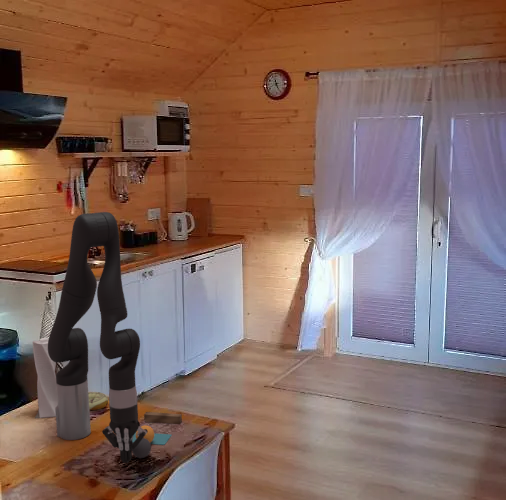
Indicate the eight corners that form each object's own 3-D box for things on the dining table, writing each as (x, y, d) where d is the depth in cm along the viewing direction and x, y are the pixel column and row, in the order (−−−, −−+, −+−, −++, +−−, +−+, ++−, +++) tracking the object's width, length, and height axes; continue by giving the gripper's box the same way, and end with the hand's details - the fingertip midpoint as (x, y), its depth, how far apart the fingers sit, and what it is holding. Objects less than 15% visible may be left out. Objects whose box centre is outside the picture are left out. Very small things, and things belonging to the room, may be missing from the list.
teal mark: (126, 442, 191) (126, 441, 191) (134, 432, 198) (134, 431, 198) (164, 445, 189) (164, 444, 189) (171, 435, 195) (171, 434, 195)
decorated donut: (90, 414, 213) (90, 404, 212) (69, 408, 219) (68, 397, 218) (114, 404, 221) (113, 394, 221) (93, 398, 227) (92, 387, 227)
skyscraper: (64, 409, 218) (58, 329, 214) (60, 418, 210) (54, 336, 206) (38, 411, 217) (32, 331, 213) (34, 420, 209) (27, 338, 205)
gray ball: (141, 430, 184) (139, 445, 186) (128, 440, 179) (126, 455, 181) (156, 440, 181) (153, 455, 184) (143, 450, 177) (140, 465, 179)
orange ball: (131, 435, 186) (137, 420, 191) (135, 447, 189) (141, 433, 194) (149, 436, 185) (154, 422, 190) (152, 449, 188) (158, 434, 193)
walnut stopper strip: (144, 421, 206) (144, 414, 205) (146, 419, 208) (146, 411, 207) (179, 424, 203) (179, 416, 203) (181, 421, 205) (181, 414, 205)
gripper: (94, 405, 171) (98, 466, 174) (141, 408, 169) (144, 470, 171) (106, 395, 178) (109, 453, 181) (151, 398, 176) (153, 457, 178)
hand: (126, 461), depth 176 cm, fingers closed
